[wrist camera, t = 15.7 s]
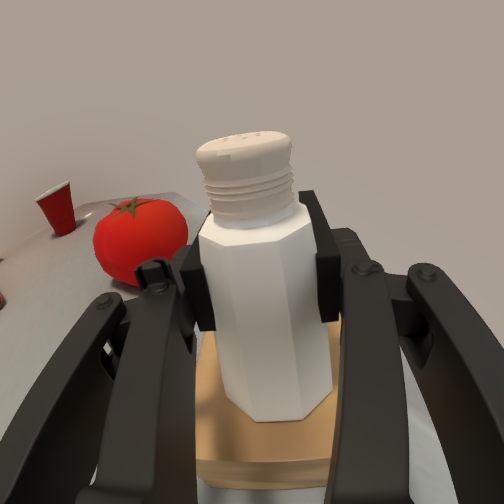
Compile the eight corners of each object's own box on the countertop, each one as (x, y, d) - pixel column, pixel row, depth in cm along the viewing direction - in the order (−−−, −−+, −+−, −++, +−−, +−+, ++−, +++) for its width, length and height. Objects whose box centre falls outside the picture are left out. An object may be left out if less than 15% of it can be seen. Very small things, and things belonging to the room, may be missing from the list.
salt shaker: (346, 350, 14) (348, 123, 9) (313, 440, 10) (306, 148, 5) (253, 332, 16) (214, 133, 11) (204, 404, 12) (110, 170, 7)
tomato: (112, 268, 40) (88, 205, 35) (190, 243, 43) (173, 178, 38) (104, 311, 30) (69, 233, 25) (204, 281, 33) (182, 196, 28)
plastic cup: (53, 231, 65) (39, 191, 59) (86, 218, 68) (73, 177, 62) (44, 246, 56) (27, 201, 50) (80, 231, 59) (65, 184, 53)
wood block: (345, 370, 19) (351, 311, 16) (362, 480, 11) (386, 447, 9) (226, 378, 20) (206, 323, 18) (210, 487, 13) (174, 456, 10)
